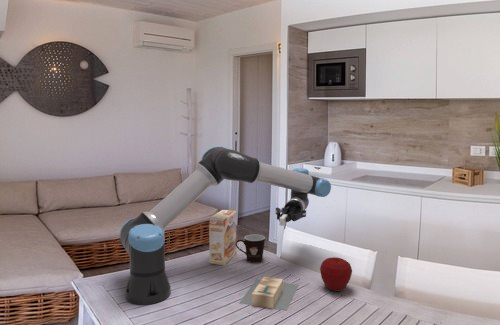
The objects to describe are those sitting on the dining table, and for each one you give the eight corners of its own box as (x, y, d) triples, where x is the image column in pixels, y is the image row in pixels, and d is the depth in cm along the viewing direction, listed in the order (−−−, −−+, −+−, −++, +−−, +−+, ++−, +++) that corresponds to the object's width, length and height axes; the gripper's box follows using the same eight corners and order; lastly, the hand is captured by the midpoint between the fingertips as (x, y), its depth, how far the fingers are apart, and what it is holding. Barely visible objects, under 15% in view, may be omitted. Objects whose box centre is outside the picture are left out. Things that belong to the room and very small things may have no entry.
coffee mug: (268, 259, 174) (268, 236, 173) (258, 265, 167) (258, 242, 166) (245, 254, 180) (245, 232, 179) (234, 260, 173) (234, 237, 172)
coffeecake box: (224, 265, 167) (224, 219, 165) (208, 263, 169) (208, 217, 167) (237, 253, 181) (237, 210, 179) (222, 251, 183) (221, 209, 181)
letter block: (263, 287, 146) (251, 305, 133) (263, 276, 145) (251, 293, 132) (282, 290, 144) (272, 308, 131) (283, 279, 143) (272, 296, 130)
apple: (316, 292, 143) (317, 260, 142) (324, 280, 153) (324, 250, 151) (348, 298, 138) (349, 265, 137) (354, 286, 148) (355, 255, 147)
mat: (238, 304, 134) (238, 303, 134) (256, 280, 153) (256, 279, 153) (286, 311, 129) (286, 310, 129) (298, 285, 148) (298, 284, 148)
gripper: (309, 218, 172) (298, 233, 150) (279, 215, 176) (264, 229, 154) (310, 200, 171) (299, 213, 149) (279, 198, 175) (264, 210, 153)
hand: (281, 221), depth 151 cm, fingers closed
